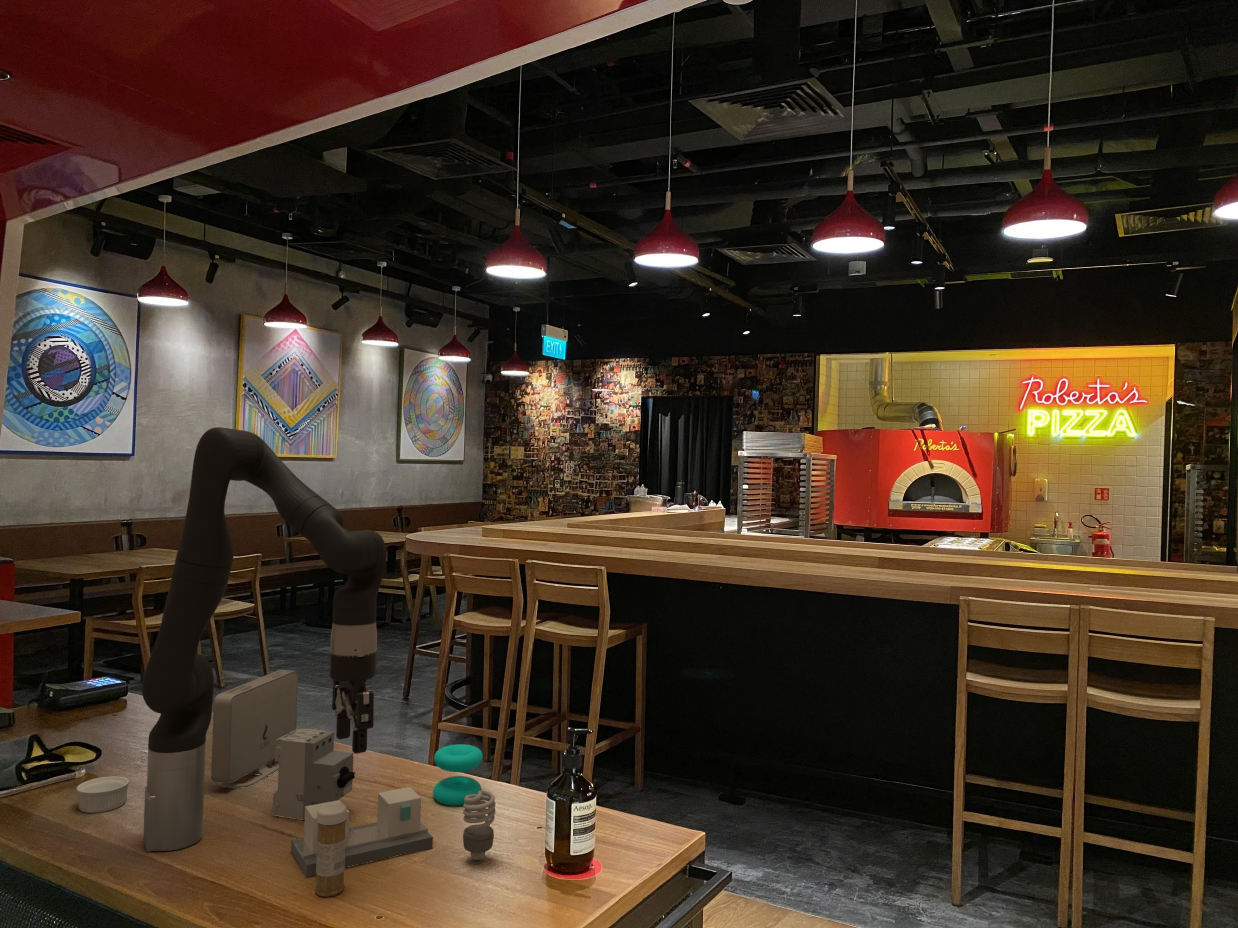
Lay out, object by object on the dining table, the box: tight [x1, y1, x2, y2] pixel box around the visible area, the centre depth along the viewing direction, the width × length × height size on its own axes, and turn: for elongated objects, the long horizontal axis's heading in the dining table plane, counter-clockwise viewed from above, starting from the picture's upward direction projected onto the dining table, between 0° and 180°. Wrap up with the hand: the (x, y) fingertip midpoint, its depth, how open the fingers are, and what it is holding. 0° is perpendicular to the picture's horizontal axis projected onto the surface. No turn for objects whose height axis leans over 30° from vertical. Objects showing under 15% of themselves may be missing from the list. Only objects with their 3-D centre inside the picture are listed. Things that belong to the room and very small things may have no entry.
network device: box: [210, 669, 299, 789], centre depth 188 cm, size 26×9×20 cm, turn 170°
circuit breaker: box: [272, 727, 356, 820], centre depth 167 cm, size 8×14×15 cm, turn 78°
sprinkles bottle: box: [314, 803, 348, 898], centre depth 137 cm, size 5×5×13 cm
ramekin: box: [76, 775, 130, 814], centre depth 167 cm, size 9×9×4 cm
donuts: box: [432, 743, 484, 806], centre depth 177 cm, size 10×10×10 cm
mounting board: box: [290, 821, 434, 878], centre depth 152 cm, size 22×11×2 cm, turn 124°
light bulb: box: [462, 790, 496, 862], centre depth 149 cm, size 6×6×12 cm
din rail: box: [295, 821, 429, 859], centre depth 152 cm, size 22×6×1 cm, turn 124°
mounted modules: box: [303, 786, 422, 854], centre depth 152 cm, size 19×7×6 cm, turn 124°
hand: (351, 745), depth 143 cm, fingers open, 8 cm apart
